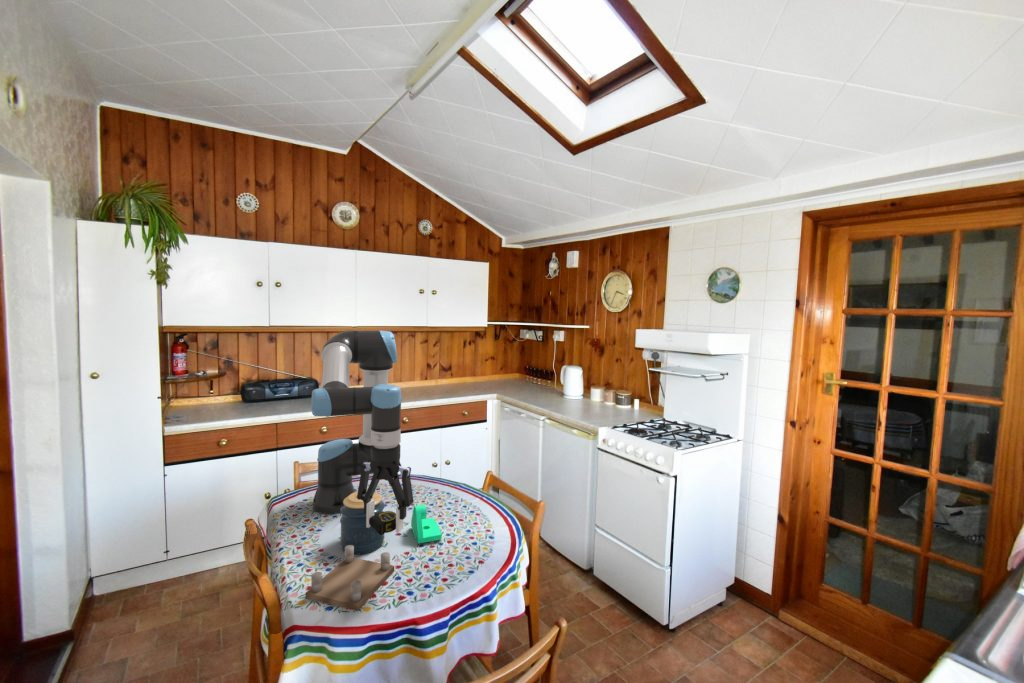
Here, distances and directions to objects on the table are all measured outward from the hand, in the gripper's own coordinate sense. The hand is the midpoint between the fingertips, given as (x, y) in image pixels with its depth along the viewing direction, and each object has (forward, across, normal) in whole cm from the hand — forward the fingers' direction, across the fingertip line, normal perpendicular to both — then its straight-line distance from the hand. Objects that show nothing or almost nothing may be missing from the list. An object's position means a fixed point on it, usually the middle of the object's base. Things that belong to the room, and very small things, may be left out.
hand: (384, 527), depth 118 cm
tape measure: (0, 0, -1) cm, 1 cm away
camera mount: (+15, +1, +25) cm, 29 cm away
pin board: (+15, -7, -4) cm, 17 cm away
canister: (+15, -16, +14) cm, 26 cm away
